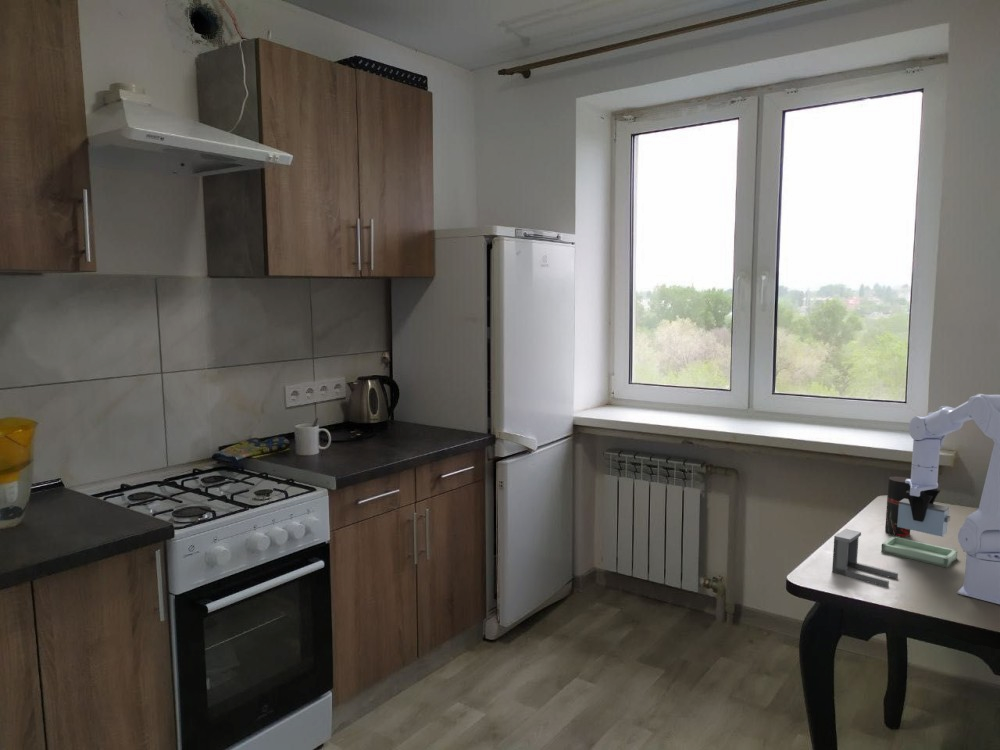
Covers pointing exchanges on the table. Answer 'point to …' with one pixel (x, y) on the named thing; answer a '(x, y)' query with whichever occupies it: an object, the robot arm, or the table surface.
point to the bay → (854, 559)
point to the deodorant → (895, 505)
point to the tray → (919, 551)
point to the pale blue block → (932, 522)
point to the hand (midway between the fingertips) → (921, 518)
